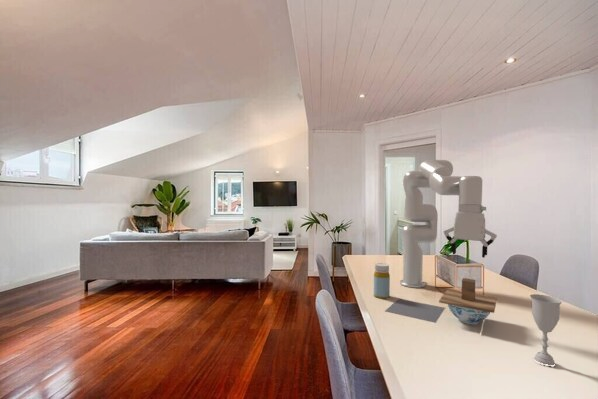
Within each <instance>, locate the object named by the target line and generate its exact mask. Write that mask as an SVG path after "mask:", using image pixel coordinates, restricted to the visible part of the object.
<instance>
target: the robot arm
mask: <svg viewBox="0 0 598 399" xmlns="http://www.w3.org/2000/svg"><path fill="white" fill-rule="evenodd" d="M453 172H454V166H453V163H452V162H451V161H449V160H447V159H426V160H424V161H422V162H421V164H420V165H419V167H418V170H410V171H408V172H406V173H404V176H403V180H402V182H403V184H402V186H403V190H404V194H405V208H404V210H405V214H404V215H405V216H404V217H405V219H406V221H408V222H410V223H425V224H407V225H404V226H403V227H402V229H401V237H402V246H403V247H402V249H403V251H402V252H403V258H402V259H403V261H402V263H403V265H402V279H401V280H400V281H399V284H400V286H401V285H402V286H404V287H408V288H416V289H417V288H418V289H419V288H424V287H426V282H424V281H423V261H424V260H423V258H424V257H423V255H424V254H423V250H422V248H421V247H420V245H419V244H429V243H430V244H431V243H434V242H435V241H436V240H437V237H438V216H439V215H438V210H437V207H436V206H435V205H433V204H432V203H431V204H430V203H429V204H428V203H424V201H423V200H424V197H423V192H422V191H421V190H420V188H424V189H425V188H426V189H427V188H428V189H431V190H432V191H433V192H435V193H436V194H438V195H441V196H458V212H456V213H455V218H454V224H453V225H454V226H453V227H450V228H448V229H446V230H444V231H443V234H444V236H445V238H446V240H447V241H449V243H450V252H452V255H455V254H456V253H457V243H456V241H457V240H465V241H475V242H476V241H477V242H480V243H481V244H482V250H481V254H482V255H481V257H482V258H483V259H484V258H485V257H486V256H488V246H490V245H491V244H493V243H494V241H495V240H496V239H497V237H498V236H497V234H496V233H494V232H492V231H490V230H488V229H486V217H485V214H484V213H482V212H484V211H487V207H486V206H483V202H482V201H483V178H482V177H481V176H479V175H464V176H459V175H458V176H455V175H453ZM452 232H453V238H452V237H451V235H450V233H452ZM486 235H488V236H490V239H489V240H486Z"/></svg>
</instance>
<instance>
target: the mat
mask: <svg viewBox="0 0 598 399" xmlns="http://www.w3.org/2000/svg"><path fill="white" fill-rule="evenodd" d="M445 309H446V307H443V306H438V305H433V304H427V303H423V302H418V301H413V300H408V299H404V298H403V299H402V298H398V299H397V300H396V301H395V302H393V303H392V304H391V305H390V306H389V307H388V308H386V309H385V310H384V312H385V313H386V312H387V313H390V314H395V315H399V316H404V317H408V318H413V319H418V320H422V321H426V322H431V323H437V321H438V319H439V318H440V317H441V315H442V313H443V311H444V310H445Z"/></svg>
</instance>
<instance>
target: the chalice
mask: <svg viewBox="0 0 598 399" xmlns="http://www.w3.org/2000/svg"><path fill="white" fill-rule="evenodd" d="M529 297H530V299H531V300H532V302H531V303H532V304H531V305H532V306H531V307H532V308H531V315H532V318H533V320H534V322H535V324H536V326H537V328H538V330H539V331H541V332H542V336H541V339H542V343H541V344H540V345H541V346H542V350H541V351H539V352H537V353H536V354H535V355H534V357H533V359H535V360H536V361H538V362H540V363H543V364H548V365H554V364H556V363H555V360H554V358H553V356H552V355H551V354H550V353H549V352H548V348H549V344H548V341H549V337H548V333H552V332H553V331H554V329H555V327H556V326H557V325H558V322H559V320H560V308H561V307H560V305H561V304H562V302H563V301H562V299H560V298H558V297H555V296H550V295H545V294H530V295H529Z"/></svg>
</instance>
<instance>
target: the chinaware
mask: <svg viewBox="0 0 598 399" xmlns="http://www.w3.org/2000/svg"><path fill="white" fill-rule="evenodd" d="M447 307H448V308H449V311H450V313H452V315H454V316H455V318H457V319H458V321H459V322H461V323H464V324H467V325H478V324H479V323H481V322H482V321H484V320H486V319H487V318H488V316H489V315H490V314H491V312H486V311H481V310H476V309H471V308H465V307H460V306H455V305H449V304H447Z"/></svg>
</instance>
